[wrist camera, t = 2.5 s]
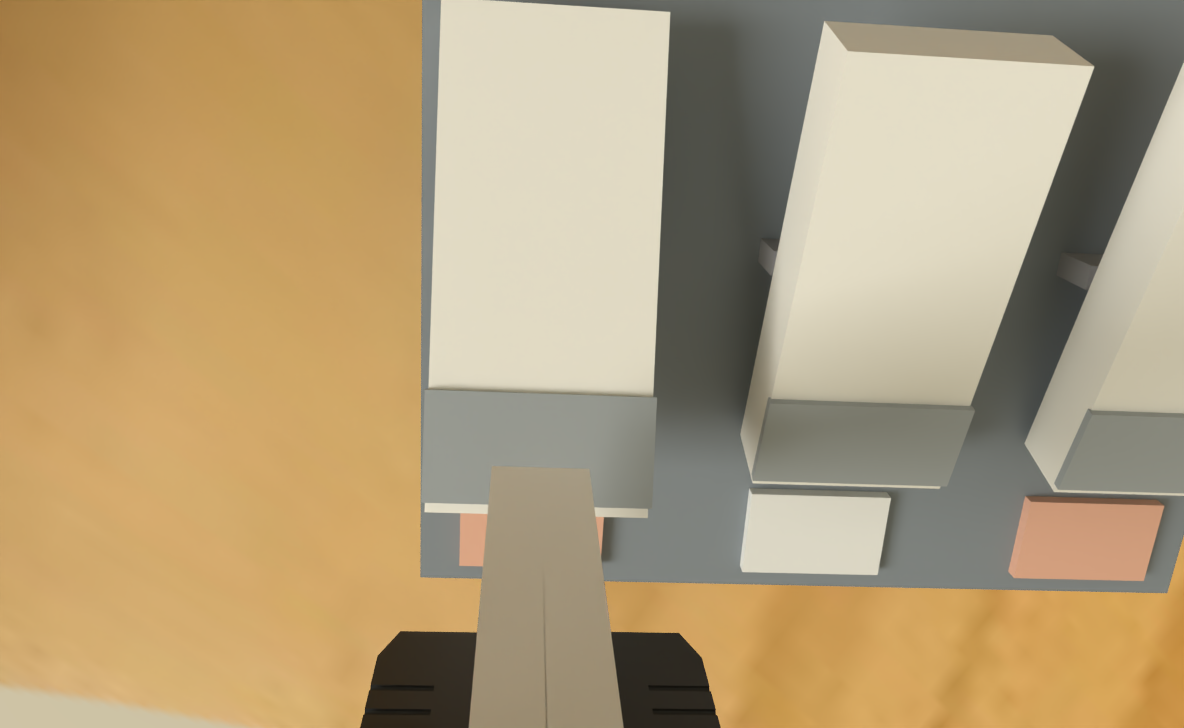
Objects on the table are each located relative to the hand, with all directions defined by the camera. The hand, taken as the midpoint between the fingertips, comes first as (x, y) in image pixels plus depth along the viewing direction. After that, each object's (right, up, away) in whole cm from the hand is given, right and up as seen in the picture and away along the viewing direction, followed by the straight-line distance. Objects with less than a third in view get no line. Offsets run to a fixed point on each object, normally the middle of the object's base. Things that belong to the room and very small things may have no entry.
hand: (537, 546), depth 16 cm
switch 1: (0, +5, +3) cm, 5 cm away
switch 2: (+7, +4, +3) cm, 8 cm away
